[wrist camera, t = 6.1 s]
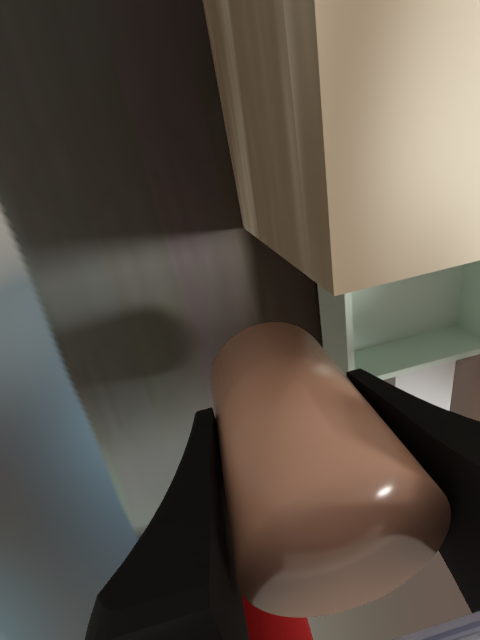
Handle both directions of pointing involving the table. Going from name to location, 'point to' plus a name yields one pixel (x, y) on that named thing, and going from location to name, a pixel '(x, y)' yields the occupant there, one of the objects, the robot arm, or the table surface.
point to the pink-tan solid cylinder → (315, 480)
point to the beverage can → (274, 625)
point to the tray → (407, 330)
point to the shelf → (354, 132)
